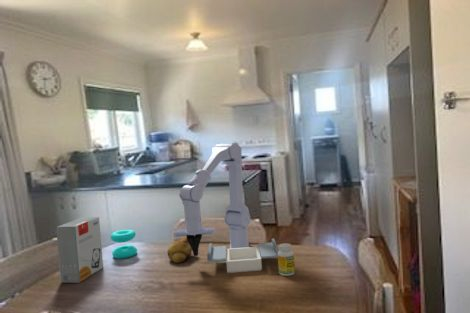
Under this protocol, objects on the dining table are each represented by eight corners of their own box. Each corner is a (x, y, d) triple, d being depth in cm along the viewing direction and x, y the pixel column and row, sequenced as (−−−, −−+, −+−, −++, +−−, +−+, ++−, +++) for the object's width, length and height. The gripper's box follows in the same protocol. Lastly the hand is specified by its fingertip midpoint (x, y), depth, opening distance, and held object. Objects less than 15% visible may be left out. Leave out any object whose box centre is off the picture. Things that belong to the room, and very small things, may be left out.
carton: (227, 258, 142) (226, 248, 142) (258, 256, 142) (257, 246, 142) (227, 272, 128) (226, 261, 128) (261, 270, 128) (261, 259, 128)
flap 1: (209, 248, 142) (209, 243, 142) (226, 247, 142) (225, 242, 142) (207, 262, 127) (207, 256, 127) (225, 261, 127) (225, 254, 127)
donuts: (130, 234, 150) (106, 236, 150) (133, 258, 150) (108, 260, 151) (138, 228, 159) (115, 229, 160) (140, 250, 160) (117, 252, 161)
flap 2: (258, 245, 142) (257, 239, 142) (274, 244, 142) (274, 238, 142) (261, 258, 127) (261, 252, 127) (279, 257, 127) (279, 250, 127)
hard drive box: (79, 283, 128) (73, 227, 127) (60, 283, 130) (54, 227, 128) (104, 266, 143) (99, 216, 142) (86, 266, 145) (81, 216, 143)
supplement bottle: (285, 268, 128) (283, 241, 127) (298, 272, 124) (296, 244, 123) (275, 273, 124) (273, 245, 124) (288, 277, 120) (286, 248, 120)
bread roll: (186, 264, 139) (185, 243, 139) (162, 265, 141) (160, 244, 140) (195, 253, 152) (194, 234, 151) (173, 253, 153) (171, 234, 153)
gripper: (171, 222, 129) (174, 260, 130) (212, 219, 130) (215, 257, 131) (174, 217, 137) (177, 253, 137) (213, 214, 137) (216, 250, 138)
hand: (196, 255), depth 135 cm, fingers closed
